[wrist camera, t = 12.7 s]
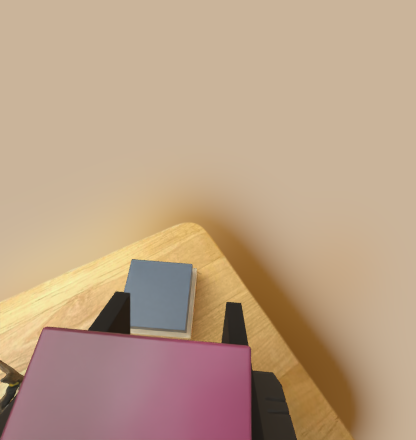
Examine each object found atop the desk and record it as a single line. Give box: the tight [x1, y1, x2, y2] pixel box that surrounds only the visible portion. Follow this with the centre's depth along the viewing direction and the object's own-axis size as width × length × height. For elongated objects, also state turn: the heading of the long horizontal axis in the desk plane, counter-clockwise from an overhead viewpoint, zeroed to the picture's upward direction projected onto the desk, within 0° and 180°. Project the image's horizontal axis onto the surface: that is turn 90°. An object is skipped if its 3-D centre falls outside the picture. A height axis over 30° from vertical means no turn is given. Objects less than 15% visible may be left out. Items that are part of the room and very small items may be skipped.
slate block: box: [124, 259, 193, 333], centre depth 27 cm, size 7×7×3 cm
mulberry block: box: [0, 327, 251, 440], centre depth 8 cm, size 5×5×9 cm
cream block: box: [130, 268, 197, 340], centre depth 30 cm, size 8×8×3 cm
